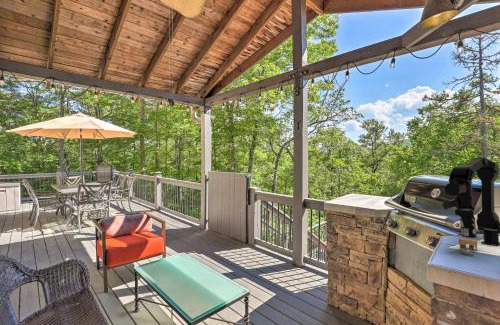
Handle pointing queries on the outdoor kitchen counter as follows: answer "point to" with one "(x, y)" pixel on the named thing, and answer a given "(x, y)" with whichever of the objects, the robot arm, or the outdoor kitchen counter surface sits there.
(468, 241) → the orange u-shaped block
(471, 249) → the arm
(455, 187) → the robot arm
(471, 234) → the beverage can
